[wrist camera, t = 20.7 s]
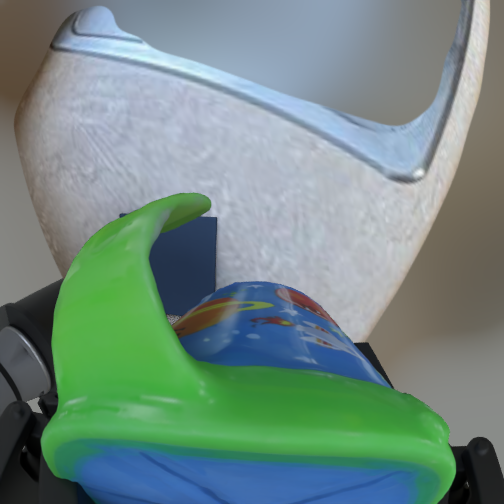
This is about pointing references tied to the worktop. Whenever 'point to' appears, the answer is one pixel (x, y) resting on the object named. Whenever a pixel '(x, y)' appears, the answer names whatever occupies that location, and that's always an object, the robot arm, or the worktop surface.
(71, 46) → the worktop surface
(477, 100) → the worktop surface
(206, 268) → the blue mat
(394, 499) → the snack cup
